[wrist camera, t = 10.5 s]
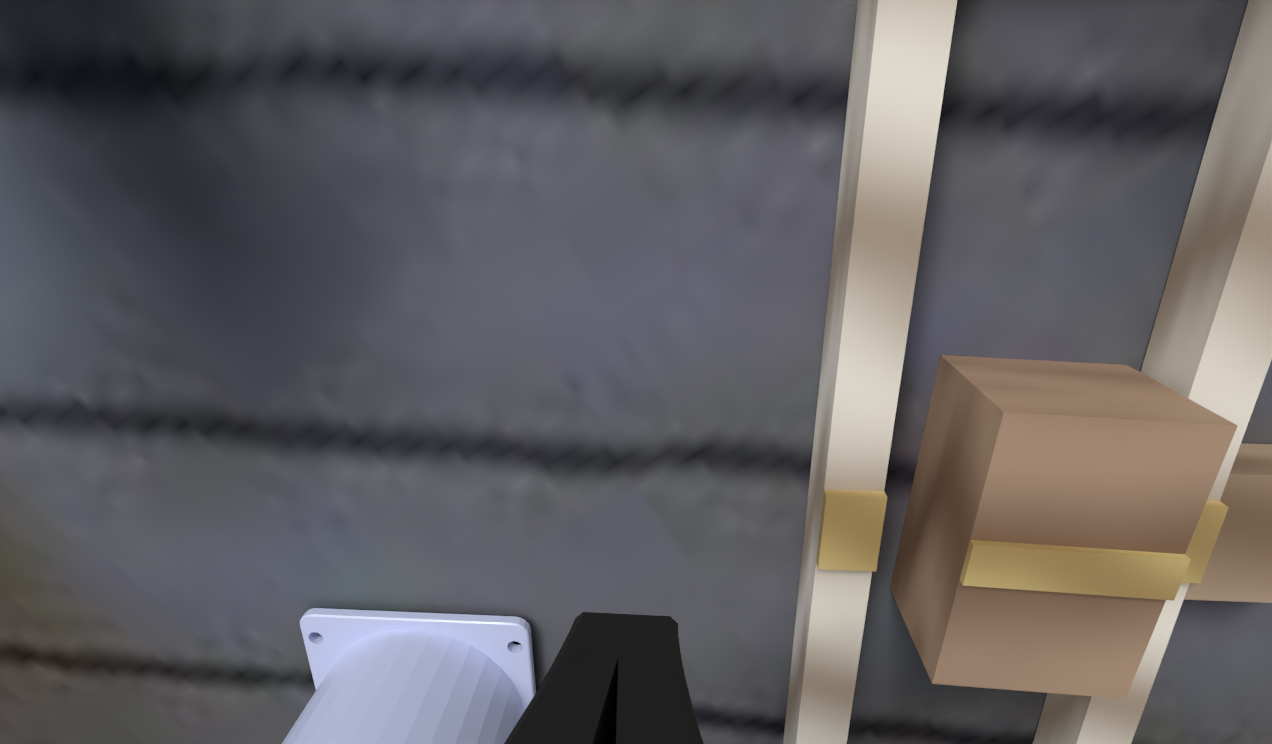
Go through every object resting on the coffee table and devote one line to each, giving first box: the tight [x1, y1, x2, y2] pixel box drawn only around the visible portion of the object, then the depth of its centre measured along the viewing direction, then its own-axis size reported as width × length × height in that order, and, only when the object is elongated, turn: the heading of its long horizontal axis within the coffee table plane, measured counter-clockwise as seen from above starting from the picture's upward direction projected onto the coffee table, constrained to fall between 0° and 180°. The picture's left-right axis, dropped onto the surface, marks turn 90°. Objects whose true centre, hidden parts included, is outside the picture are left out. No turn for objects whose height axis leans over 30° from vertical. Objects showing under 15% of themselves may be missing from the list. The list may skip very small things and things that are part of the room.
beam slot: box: [783, 0, 1272, 744], centre depth 18 cm, size 32×13×2 cm, turn 0°
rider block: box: [890, 355, 1238, 699], centre depth 18 cm, size 8×5×4 cm, turn 178°
